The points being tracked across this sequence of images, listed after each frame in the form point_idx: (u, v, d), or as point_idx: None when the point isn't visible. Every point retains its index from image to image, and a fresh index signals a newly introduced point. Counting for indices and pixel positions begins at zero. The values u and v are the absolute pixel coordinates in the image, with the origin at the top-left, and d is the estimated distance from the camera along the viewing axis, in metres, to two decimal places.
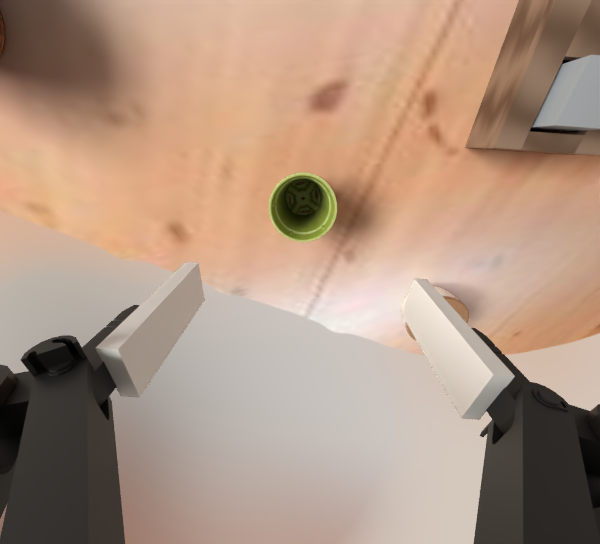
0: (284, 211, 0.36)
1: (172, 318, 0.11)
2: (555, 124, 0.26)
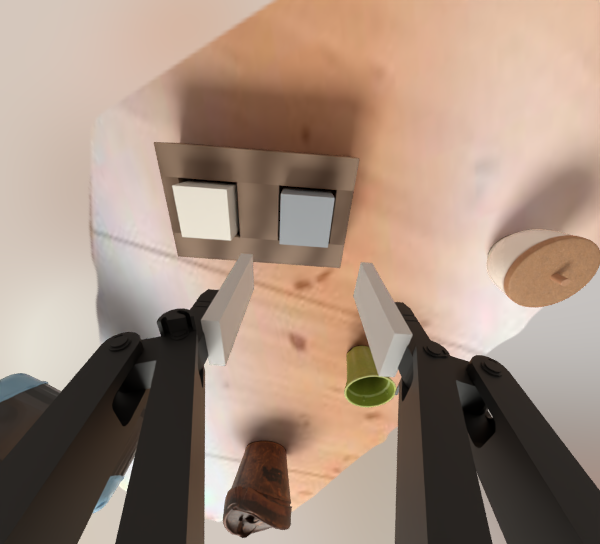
0: (369, 377, 0.48)
1: (240, 301, 0.12)
2: (327, 247, 0.28)
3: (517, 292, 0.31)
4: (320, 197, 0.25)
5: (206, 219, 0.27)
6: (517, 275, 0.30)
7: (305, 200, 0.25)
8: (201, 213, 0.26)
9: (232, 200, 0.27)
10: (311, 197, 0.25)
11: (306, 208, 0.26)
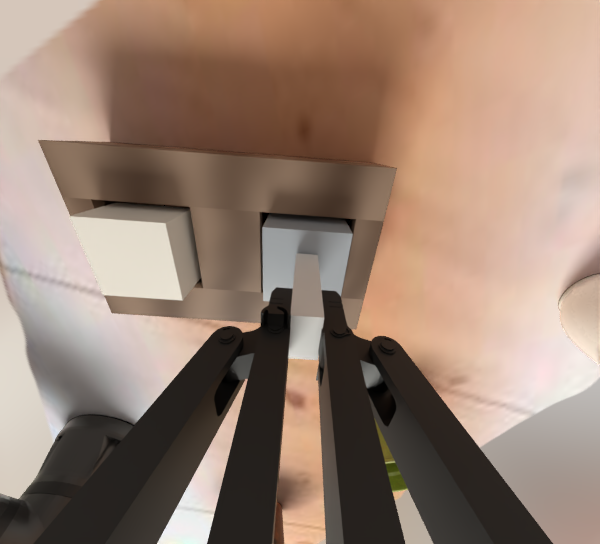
0: None
1: None
2: None
3: None
4: (328, 233, 0.15)
5: (137, 269, 0.16)
6: None
7: (303, 238, 0.15)
8: (127, 260, 0.16)
9: (183, 236, 0.17)
10: (313, 233, 0.15)
11: (305, 250, 0.16)
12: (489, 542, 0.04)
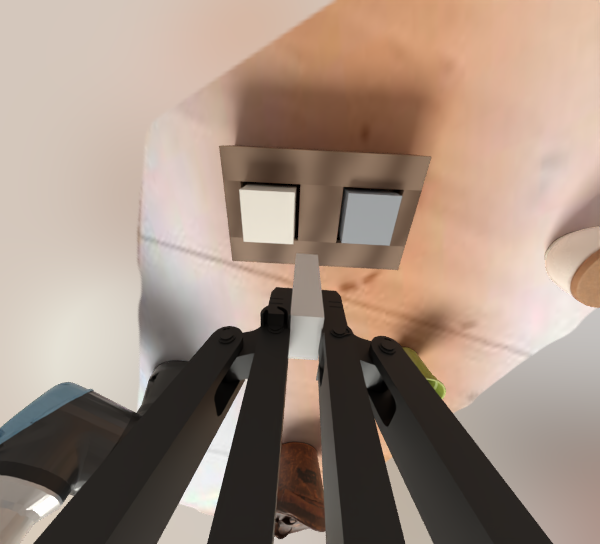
0: None
1: None
2: (388, 245, 0.28)
3: (587, 292, 0.30)
4: (387, 196, 0.25)
5: (270, 223, 0.26)
6: (589, 275, 0.29)
7: (372, 199, 0.26)
8: (265, 217, 0.26)
9: None
10: (379, 196, 0.25)
11: (372, 207, 0.26)
12: (489, 542, 0.04)
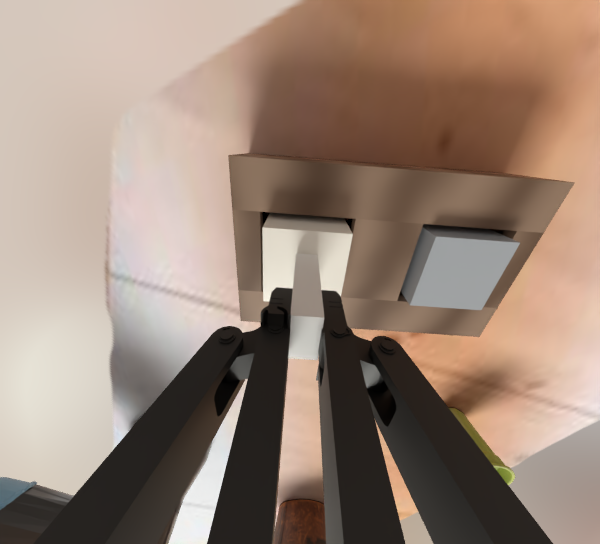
0: None
1: None
2: (480, 309, 0.19)
3: None
4: (497, 241, 0.16)
5: None
6: None
7: (472, 246, 0.16)
8: None
9: None
10: (483, 242, 0.16)
11: (468, 258, 0.16)
12: (489, 542, 0.04)
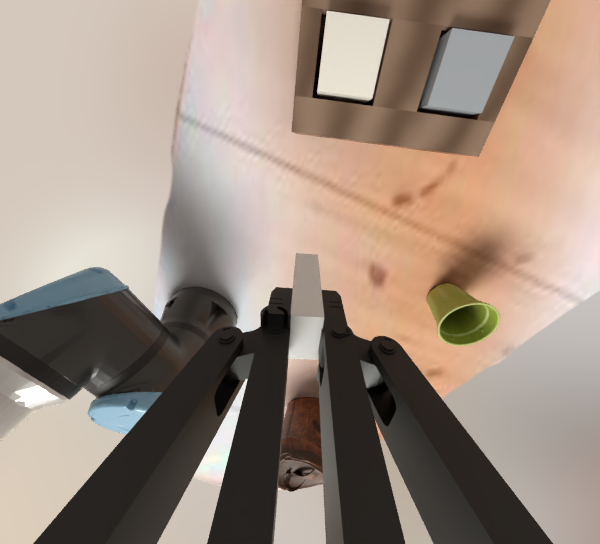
0: (453, 319, 0.43)
1: None
2: (481, 112, 0.24)
3: None
4: (497, 35, 0.21)
5: (352, 64, 0.23)
6: None
7: (478, 39, 0.22)
8: (349, 55, 0.23)
9: None
10: (487, 34, 0.21)
11: (475, 52, 0.22)
12: (489, 542, 0.05)
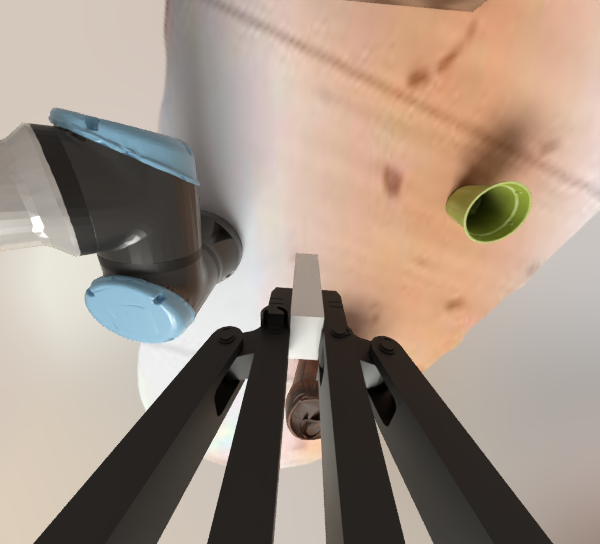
0: (476, 223, 0.40)
1: None
2: None
3: None
4: None
5: None
6: None
7: None
8: None
9: None
10: None
11: None
12: (489, 542, 0.04)
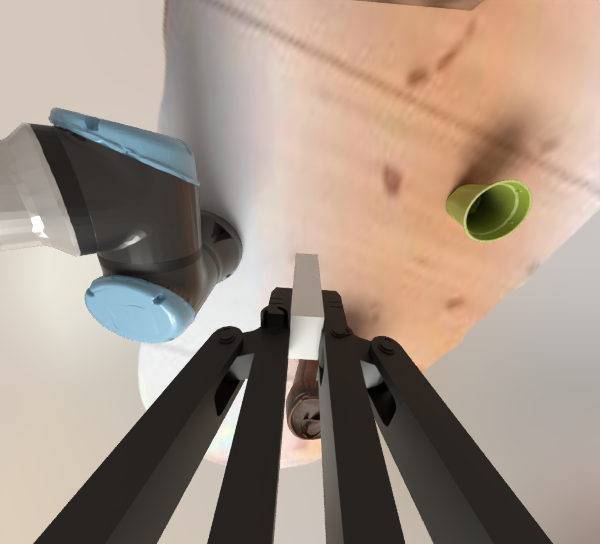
0: (476, 222, 0.40)
1: None
2: None
3: None
4: None
5: None
6: None
7: None
8: None
9: None
10: None
11: None
12: (489, 542, 0.04)
